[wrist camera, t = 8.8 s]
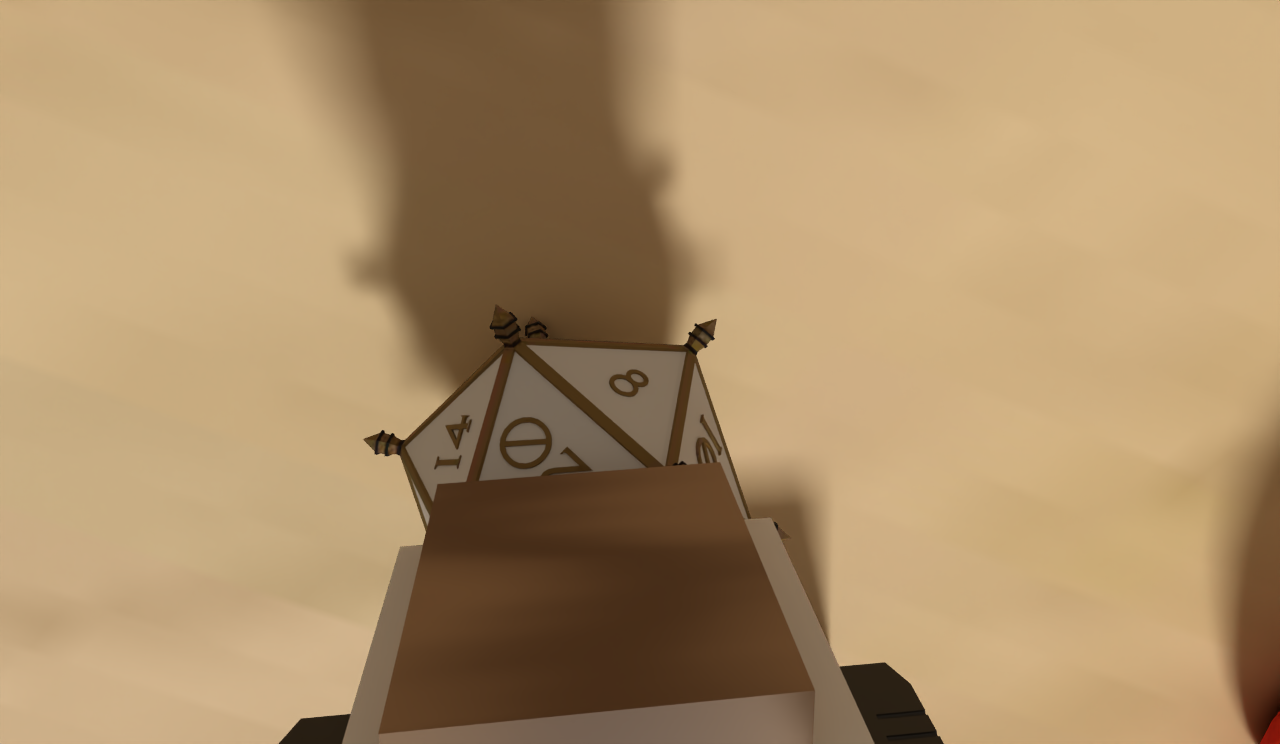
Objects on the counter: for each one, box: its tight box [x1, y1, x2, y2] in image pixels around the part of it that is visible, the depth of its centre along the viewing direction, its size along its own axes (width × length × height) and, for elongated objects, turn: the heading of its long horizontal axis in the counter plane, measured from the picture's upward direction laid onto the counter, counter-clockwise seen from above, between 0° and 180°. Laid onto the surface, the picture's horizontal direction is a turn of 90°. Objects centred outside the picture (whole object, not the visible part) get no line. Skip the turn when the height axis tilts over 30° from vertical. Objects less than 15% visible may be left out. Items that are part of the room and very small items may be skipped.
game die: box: [363, 305, 790, 541], centre depth 20 cm, size 9×8×10 cm
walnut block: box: [378, 462, 815, 744], centre depth 14 cm, size 5×5×6 cm
